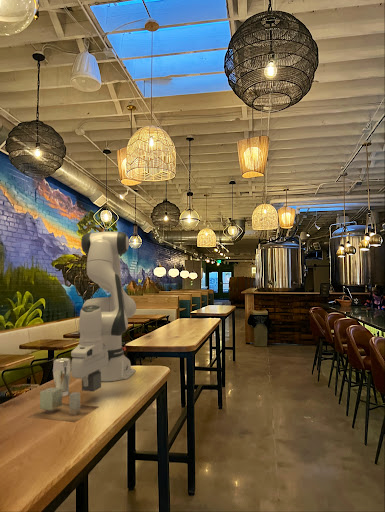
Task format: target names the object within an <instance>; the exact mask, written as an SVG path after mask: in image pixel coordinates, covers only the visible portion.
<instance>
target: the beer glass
mask: <svg viewBox="0 0 385 512" xmlns="http://www.w3.org/2000/svg"><path fill="white" fill-rule="evenodd" d="M71 363H72V361H71V358H69V357H63V358H62V357H61V358H56V359H53V367H52V375H53V381H54V386H55V387H54V388H62V397H65V396H68V395H69V394H71V393H70V382H71V381H70V380H71V376H72V372H71Z"/></svg>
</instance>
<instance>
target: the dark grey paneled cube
mask: <svg viewBox="0 0 385 512" xmlns="http://www.w3.org/2000/svg"><path fill="white" fill-rule="evenodd" d="M88 381H90V385H89V386H87V387H85V386H84V382H83V380H82V379H81V391H82V392H83V391H84V392H95V391H97V390H99V389H100V388H101V387H102V381H101V372H93V373H91V374H89V375H88Z"/></svg>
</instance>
